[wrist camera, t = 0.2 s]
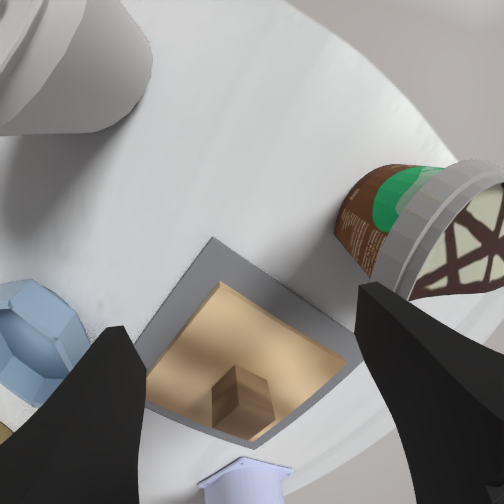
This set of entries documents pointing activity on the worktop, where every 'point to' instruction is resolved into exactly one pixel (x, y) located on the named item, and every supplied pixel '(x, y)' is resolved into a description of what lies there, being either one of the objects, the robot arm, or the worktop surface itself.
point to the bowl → (37, 340)
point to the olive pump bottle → (4, 433)
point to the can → (69, 65)
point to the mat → (259, 292)
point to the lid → (238, 367)
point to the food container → (428, 228)
